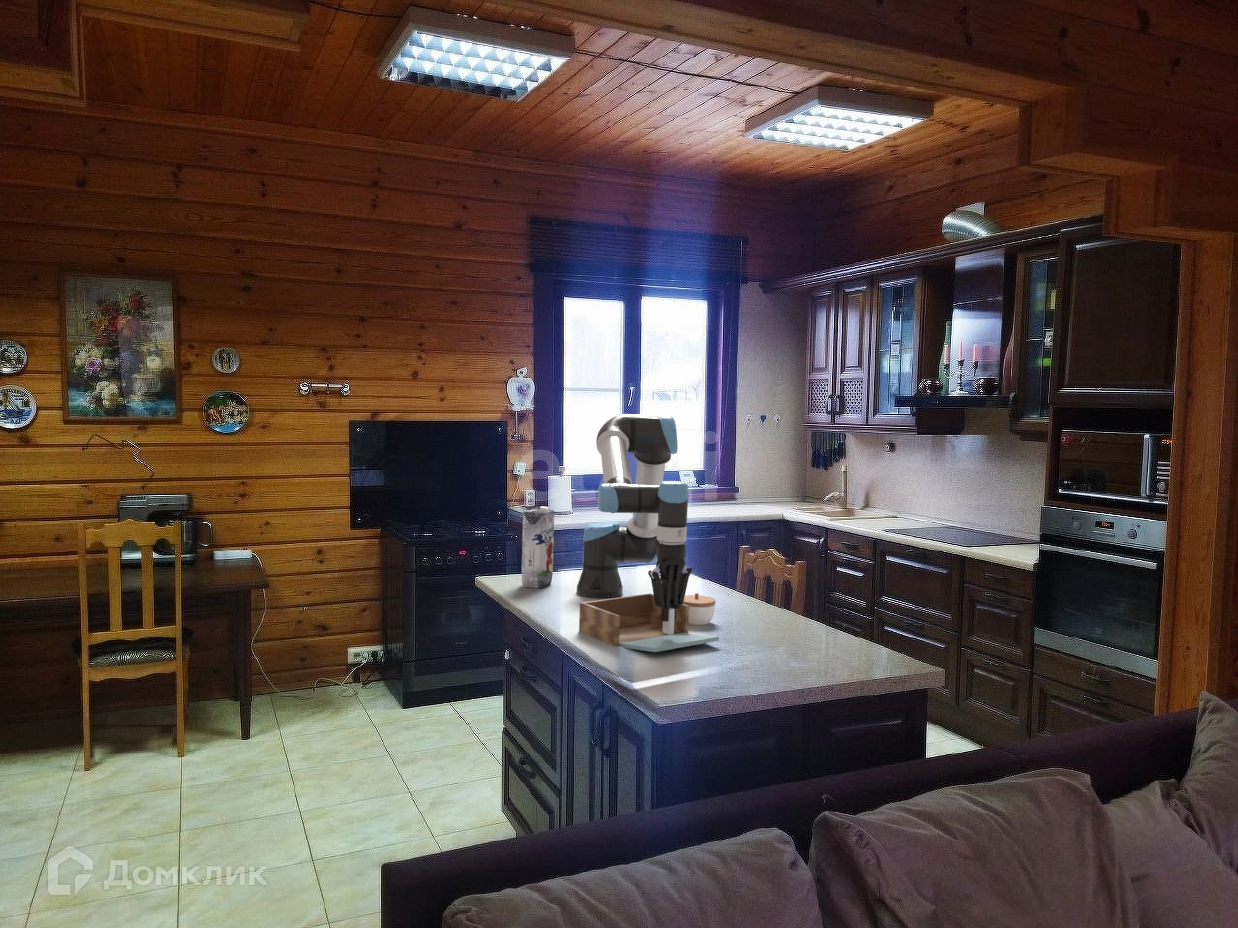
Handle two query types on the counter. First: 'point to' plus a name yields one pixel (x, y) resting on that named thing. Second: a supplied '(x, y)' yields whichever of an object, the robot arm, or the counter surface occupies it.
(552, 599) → the counter surface
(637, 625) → the open wooden tray
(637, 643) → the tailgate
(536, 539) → the juice carton
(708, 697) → the counter surface
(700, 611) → the lidded jar
